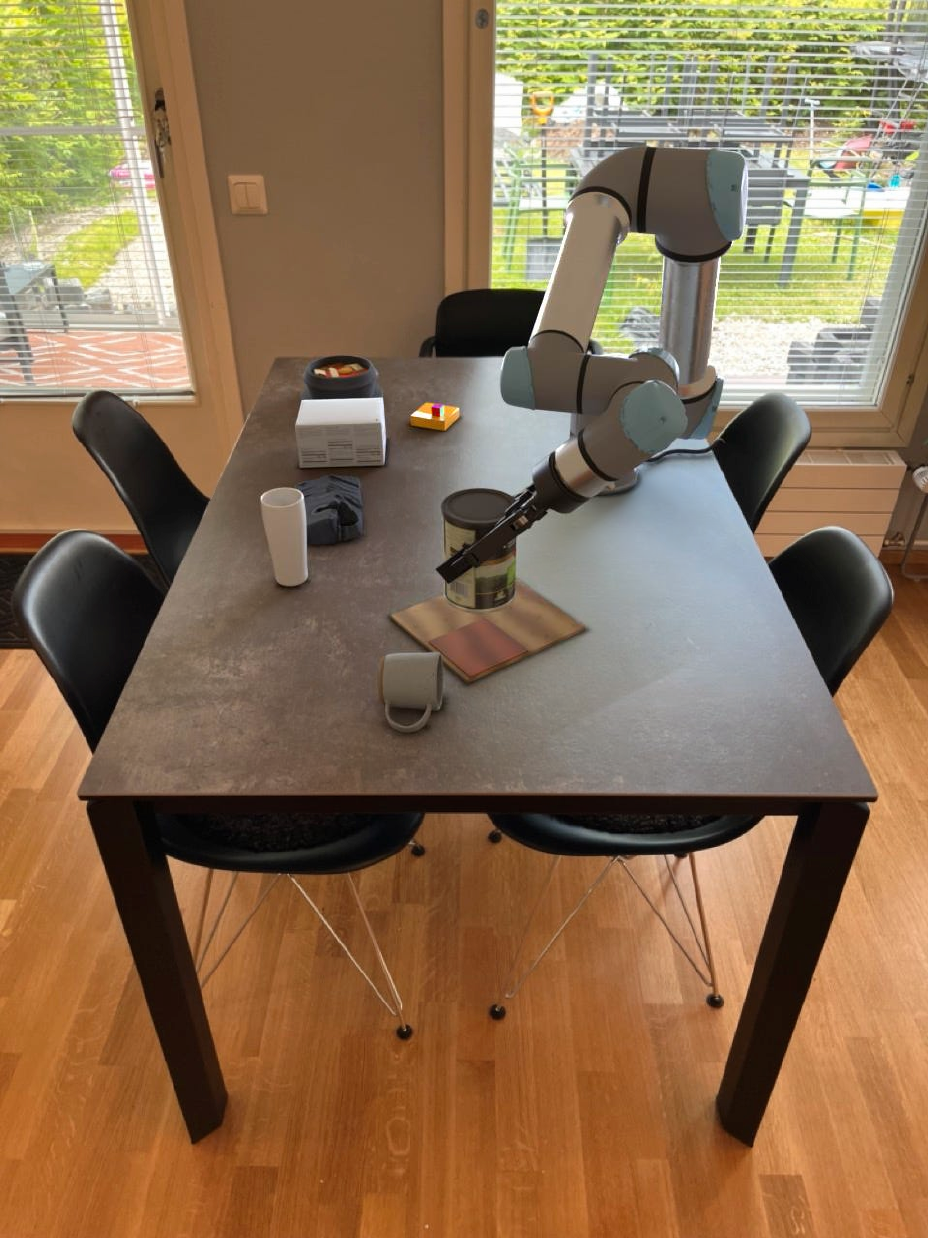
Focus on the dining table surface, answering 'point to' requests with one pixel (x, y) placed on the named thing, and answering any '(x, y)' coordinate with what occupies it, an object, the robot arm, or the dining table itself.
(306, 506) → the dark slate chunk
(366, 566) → the dining table surface
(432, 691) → the ceramic mug
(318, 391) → the casserole
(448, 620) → the placemat
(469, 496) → the coffee can
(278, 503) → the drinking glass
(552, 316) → the robot arm
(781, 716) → the dining table surface
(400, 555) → the dining table surface
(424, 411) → the yellow tile with knob
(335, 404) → the supplement box
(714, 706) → the dining table surface
